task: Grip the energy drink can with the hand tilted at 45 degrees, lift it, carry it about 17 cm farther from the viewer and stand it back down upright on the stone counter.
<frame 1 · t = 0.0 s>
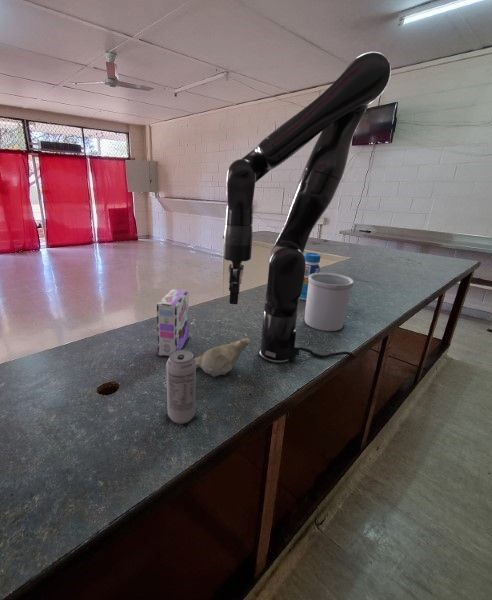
hand: (234, 298, 90), 17 cm above the counter, tool pointing down, fingers open, 8 cm apart
energy drink can: (181, 416, 69), on the counter
utensil holder: (323, 323, 117), on the counter
beverage bottle: (306, 298, 143), on the counter
beige lumpy piece: (222, 367, 88), on the counter
candy box: (174, 346, 98), on the counter
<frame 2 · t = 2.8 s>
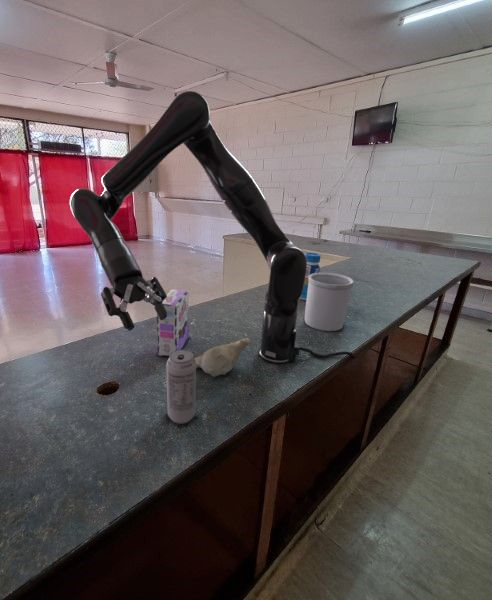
hand: (148, 323, 70), 18 cm above the counter, tool tilted 45°, fingers open, 8 cm apart
nothing on the counter moved.
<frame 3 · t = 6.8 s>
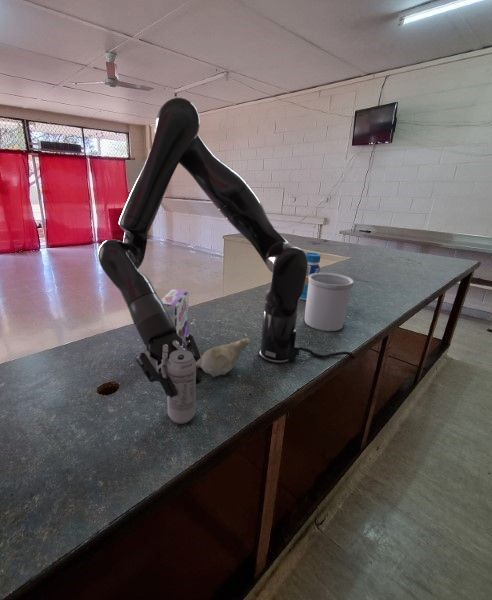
hand: (186, 389, 65), 8 cm above the counter, tool tilted 45°, fingers closed on energy drink can, 6 cm apart
energy drink can: (181, 416, 69), on the counter, touching gripper
everything else where it was.
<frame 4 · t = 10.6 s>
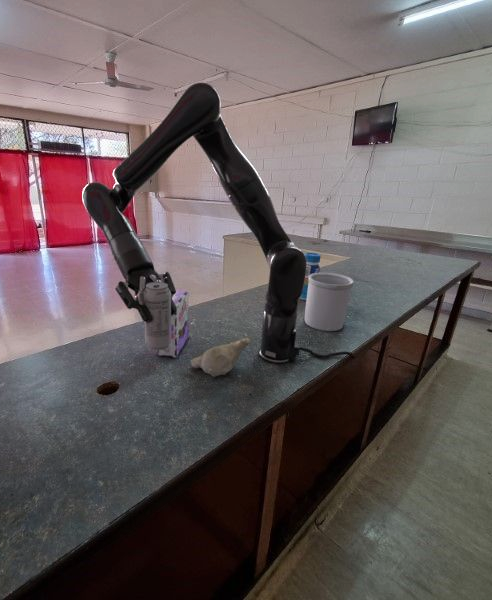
hand: (162, 317, 71), 19 cm above the counter, tool tilted 45°, fingers closed on energy drink can, 6 cm apart
energy drink can: (158, 346, 75), point 11 cm above the counter, touching gripper
everything else where it was.
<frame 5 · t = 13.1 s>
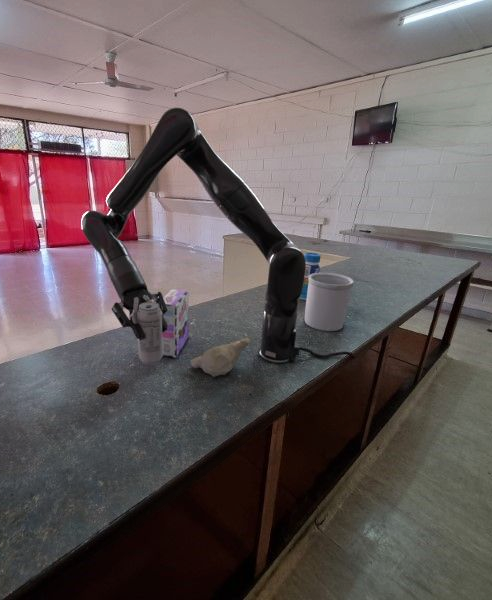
hand: (154, 334, 78), 12 cm above the counter, tool tilted 45°, fingers closed on energy drink can, 6 cm apart
energy drink can: (151, 359, 82), point 4 cm above the counter, touching gripper
everything else where it was.
when the fingers open (8 cm above the counter, at t = 14.9 s): energy drink can stays where it is, on the counter.
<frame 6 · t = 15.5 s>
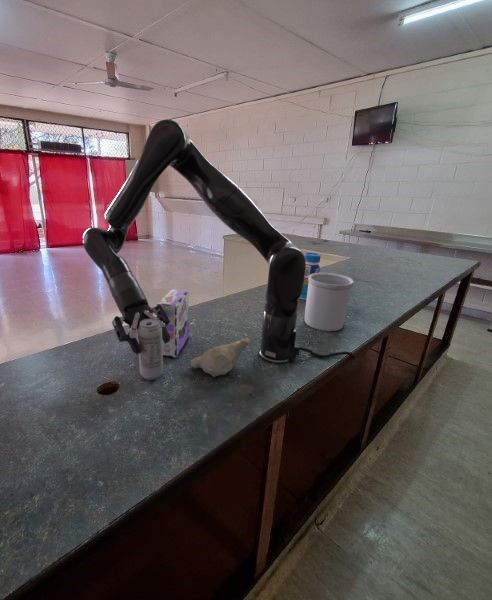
hand: (154, 347, 79), 9 cm above the counter, tool tilted 45°, fingers open, 8 cm apart
energy drink can: (151, 374, 83), on the counter
everything else where it was.
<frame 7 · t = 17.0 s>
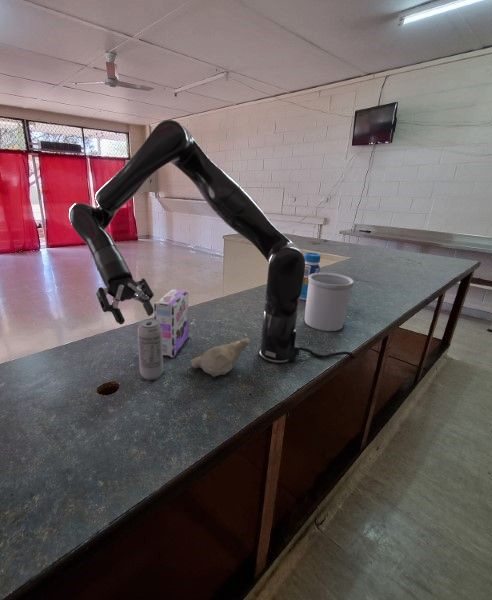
hand: (137, 318, 82), 14 cm above the counter, tool tilted 45°, fingers open, 8 cm apart
nothing on the counter moved.
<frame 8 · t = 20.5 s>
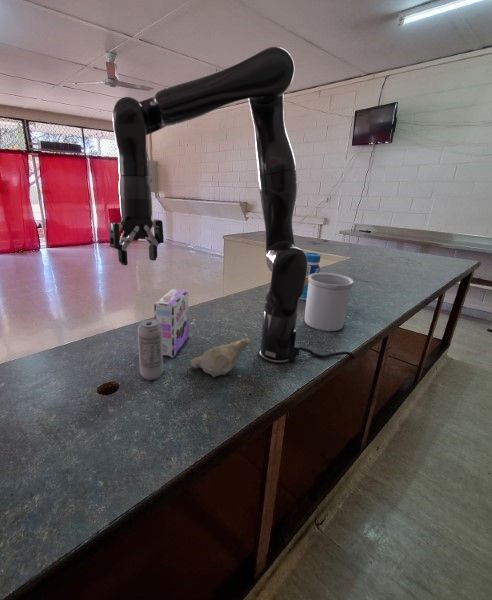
hand: (139, 262, 81), 28 cm above the counter, tool pointing down, fingers open, 8 cm apart
nothing on the counter moved.
at the end: energy drink can inside the target area (0.2 cm from its centre), on the counter; energy drink can tilted 0°; the gripper is holding nothing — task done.
